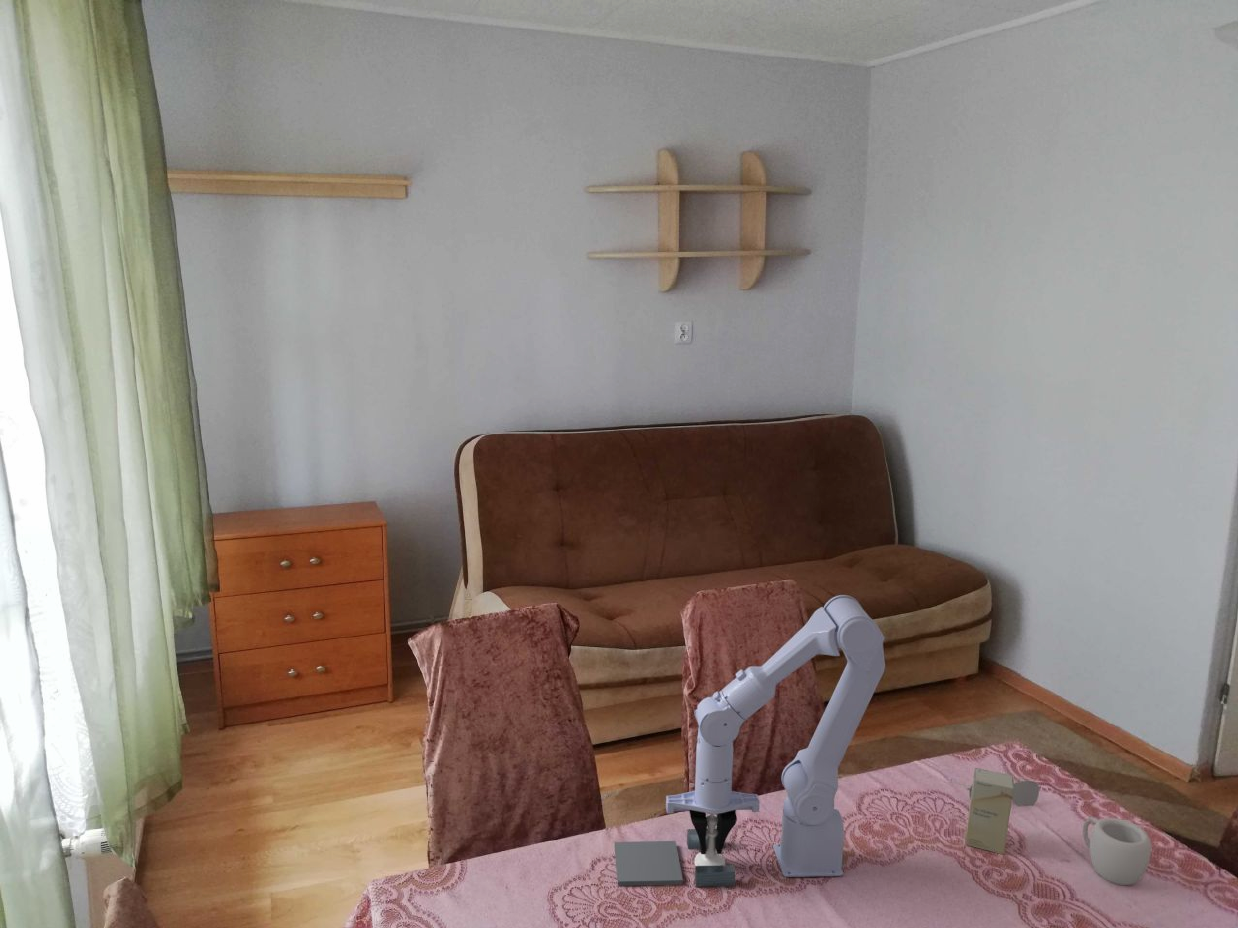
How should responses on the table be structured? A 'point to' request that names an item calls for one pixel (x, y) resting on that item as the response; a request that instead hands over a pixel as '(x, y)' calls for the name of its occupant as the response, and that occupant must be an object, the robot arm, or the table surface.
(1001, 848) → the skincare box
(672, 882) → the mat
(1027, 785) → the sunglasses
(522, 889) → the table surface
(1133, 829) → the mug
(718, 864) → the chess piece
